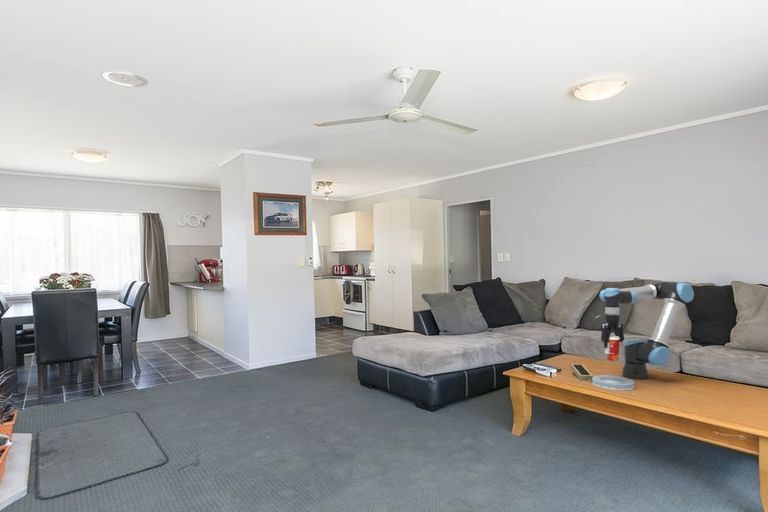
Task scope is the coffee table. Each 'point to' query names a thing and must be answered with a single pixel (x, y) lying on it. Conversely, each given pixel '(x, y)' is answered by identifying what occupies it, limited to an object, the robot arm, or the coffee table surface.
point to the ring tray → (613, 382)
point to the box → (581, 372)
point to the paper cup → (613, 348)
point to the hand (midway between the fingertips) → (612, 353)
